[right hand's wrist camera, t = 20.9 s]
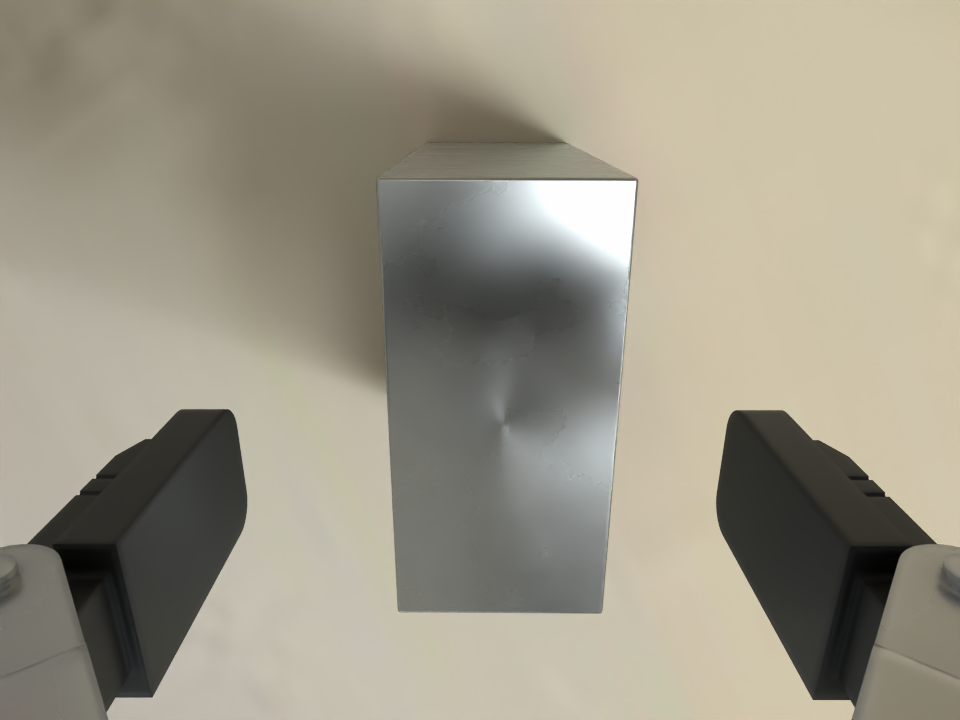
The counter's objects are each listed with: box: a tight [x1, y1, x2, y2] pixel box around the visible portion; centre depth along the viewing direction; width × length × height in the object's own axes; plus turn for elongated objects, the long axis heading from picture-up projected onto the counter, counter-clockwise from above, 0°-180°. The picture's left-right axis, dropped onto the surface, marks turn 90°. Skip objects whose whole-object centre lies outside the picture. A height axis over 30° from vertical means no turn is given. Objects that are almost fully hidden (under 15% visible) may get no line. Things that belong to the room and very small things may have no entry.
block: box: [376, 143, 638, 613], centre depth 17 cm, size 4×9×10 cm, turn 0°
